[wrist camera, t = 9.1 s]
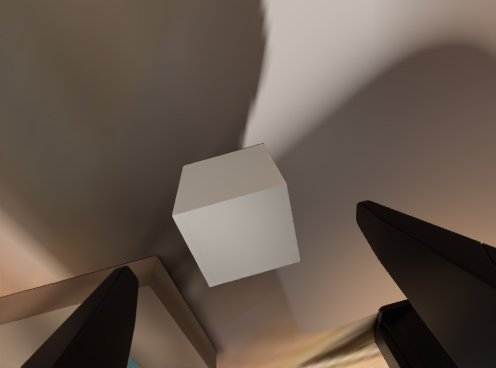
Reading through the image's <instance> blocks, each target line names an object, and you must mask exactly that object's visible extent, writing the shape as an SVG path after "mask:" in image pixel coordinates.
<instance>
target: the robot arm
mask: <svg viewBox="0 0 496 368" xmlns="http://www.w3.org/2000/svg"><path fill="white" fill-rule="evenodd" d="M356 220H357V224H358V226H359V227H360V229H361V231H362V233H363V234H364V236H365V238H366V239H367V241H368V243H369V244H370V246H371V248H372V250H373V251H374V253H375V255H376V256H377V258H378V259H379V261H380V262H381V264H382V265H383V266H384V268H385V269H386V270H387V272H388V273H389V275H390V276H391V277H392V279H393V280H394V281H395V282H396V284H397V285H398V287H399V288H400V289H401V291H402V292H403V293H404V295H405V296H406V297H407V300H403V301H400V302H396V303H392V304H388V305H385V306H382V307H381V308H380V309H379V313H378V321H377V330H376V338H375V343H376V345H377V346H378V348H379V350H380V351H381V353H382V355H383V357H384V359H385V360H386V362H387V364H388V366H389V367H390V368H496V248H495V247H492V246H490V245H487V244H484V243H482V244H481V242H479V241H476V240H473V239H471V238H468V237H466V236H463V235H460V234H458V233H455V232H452V231H450V230H447V229H444V228H442V227H439V226H436V225H433V224H431V223H428V222H426V221H423V220H420V219H418V218H415V217H412V216H409V215H407V214H404V213H401V212H399V211H396V210H394V209H390V208H388V207H385V206H383V205H380V204H378V203H374V202H372V201H369V200H367V201H363V202H359V203H358V204H357V210H356ZM138 290H139V281H138V278H137V277H136V275H135V274H134V273H133V271H132V270H131V269H130V267H129V266H121V267H118V268H116V269H114V270H113V271H112V272H111V273H110V274H109V275H108V277H107V278H106V279H105V280H104V281H103V282H102V283H101V284H100V285H99V286H98V287H97V288H96V289H95V290H94V291H93V292H92V293H91V294H90V295H89V296H88V297H87V298H86V299H85V300H84V301H83V302H82V304H81V305H80V306H79V307H78V308H77V309H76V310H75V311H74V312H73V313H72V314H71V315H70V316H69V317H68V318H67V319H66V320H65V321H64V322H63V323H62V324H61V325H60V326H59V327H58V328H57V329H56V330H55V332H54V333H53V334H52V335H51V336H50V337H49V338H48V339H47V340H46V341H45V342H44V343H43V344H42V345H41V346H40V347H39V348H38V349H37V350H36V351H35V352H34V353H33V354H32V355H31V356H30V357H29V358H28V360H27V361H26V362H25V363H24V364H23V365H22V366H21V367H20V368H127V365H128V360H129V355H130V349H131V344H132V339H133V334H134V328H135V322H136V312H137V301H138Z"/></svg>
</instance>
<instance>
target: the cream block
mask: <svg viewBox="0 0 496 368" xmlns="http://www.w3.org/2000/svg"><path fill="white" fill-rule="evenodd" d="M172 217H173V219H174V221H175V223H176V225H177V226H178V228H179V230H180V232H181V234H182V236H183V238H184V240H185V242H186V243H187V245H188V247H189V249H190V251H191V253H192V255H193V257H194V259H195V260H196V262H197V264H198V266H199V268H200V270H201V272H202V274H203V276H204V278H205V279H206V281H207V283H208V285H209V287H212V286H216V285H219V284H223V283H227V282H230V281H234V280H237V279H241V278H244V277H248V276H251V275H255V274H258V273H262V272H265V271H269V270H272V269H276V268H280V267H283V266H286V265H290V264H294V263H297V262H300V256H299V250H298V245H297V239H296V234H295V228H294V223H293V217H292V211H291V206H290V200H289V194H288V189H287V183H286V182H285V180H284V178H283V176H282V175H281V173H280V171H279V169H278V168H277V166H276V164H275V163H274V161H273V159H272V157H271V156H270V154H269V152H268V150H267V149H266V147H265V145H264V143H261V144H257V145H254V146H250V147H246V148H243V149H242V150H238V151H235V152H231V153H227V154H224V155H220V156H217V157H213V158H210V159H206V160H203V161H199V162H195V163H192V164H188V165H185V166H183V169H182V174H181V178H180V183H179V187H178V191H177V196H176V200H175V205H174V209H173V213H172Z"/></svg>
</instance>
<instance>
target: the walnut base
mask: <svg viewBox="0 0 496 368" xmlns="http://www.w3.org/2000/svg"><path fill="white" fill-rule="evenodd" d="M121 266H129V267H130V269H131V270H132V271H133V273H134V274H135V275H136V277H137V278H138V281H139V290H138V301H137V312H136V322H135V328H134V334H133V339H132V344H131V349H130V355H129V357H130V358H131V359H132V360H133V361H134V362H135V363H136V364H137V365H138V366H139V367H140V368H216V350H215V348H214V346H213V345H212V343H211V342H210V340H209V338H208V337H207V335H206V334H205V332H204V330H203V329H202V327H201V326H200V324H199V322H198V321H197V319H196V318H195V316H194V314H193V313H192V311H191V310H190V308H189V306H188V305H187V303H186V302H185V300H184V298H183V297H182V295H181V294H180V292H179V290H178V289H177V287H176V286H175V284H174V282H173V281H172V279H171V278H170V276H169V274H168V273H167V271H166V270H165V268H164V266H163V265H162V263H161V262H160V260H159V258H158V257H157V256H153V257H149V258H145V259H142V260H138V261H134V262H131V263H127V264H123V265H120V266H116V267H112V268H108V269H105V270H101V271H97V272H94V273H90V274H86V275H83V276H79V277H75V278H72V279H68V280H64V281H60V282H57V283H53V284H49V285H46V286H42V287H38V288H35V289H31V290H27V291H24V292H20V293H16V294H12V295H9V296H5V297H1V298H0V368H20V367H21V366H22V365H23V364H24V363H25V362H26V361H27V360H28V358H29V357H30V356H31V355H32V354H33V353H34V352H35V351H36V350H37V349H38V348H39V347H40V346H41V345H42V344H43V343H44V342H45V341H46V340H47V339H48V338H49V337H50V336H51V335H52V334H53V333H54V332H55V330H56V329H57V328H58V327H59V326H60V325H61V324H62V323H63V322H64V321H65V320H66V319H67V318H68V317H69V316H70V315H71V314H72V313H73V312H74V311H75V310H76V309H77V308H78V307H79V306H80V305H81V304H82V302H83V301H84V300H85V299H86V298H87V297H88V296H89V295H90V294H91V293H92V292H93V291H94V290H95V289H96V288H97V287H98V286H99V285H100V284H101V283H102V282H103V281H104V280H105V279H106V278H107V277H108V275H109V274H110V273H111V272H112V271H113V270H114V269H116V268H118V267H121Z"/></svg>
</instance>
